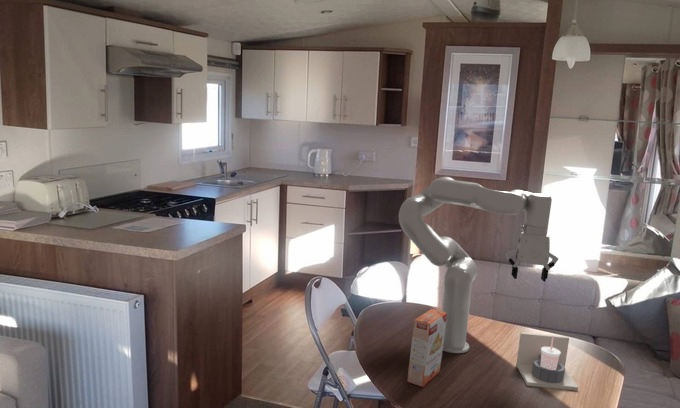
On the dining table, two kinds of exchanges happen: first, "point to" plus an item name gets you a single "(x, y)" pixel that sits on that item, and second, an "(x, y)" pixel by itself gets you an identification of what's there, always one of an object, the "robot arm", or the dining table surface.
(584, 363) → the dining table surface
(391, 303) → the dining table surface
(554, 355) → the beverage cup
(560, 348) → the bracket
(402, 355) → the dining table surface
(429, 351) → the cracker box
